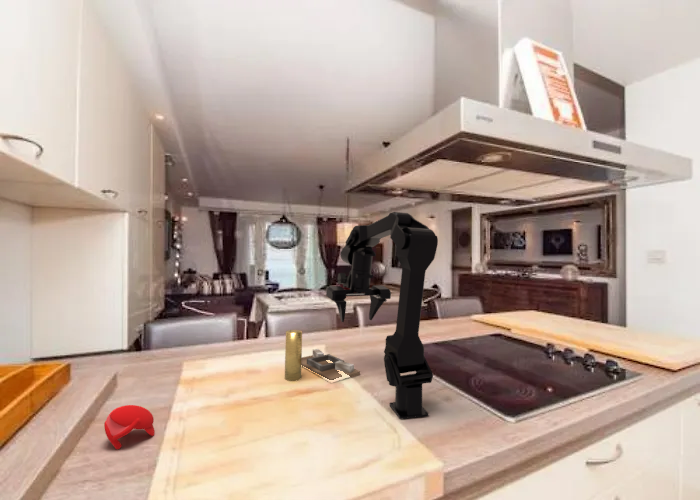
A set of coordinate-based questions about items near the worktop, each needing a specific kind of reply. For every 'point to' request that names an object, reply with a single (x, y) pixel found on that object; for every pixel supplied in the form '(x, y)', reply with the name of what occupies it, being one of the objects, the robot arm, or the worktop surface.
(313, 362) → the shaft rig
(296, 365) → the olive gold cylinder
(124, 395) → the worktop surface
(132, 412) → the red curved piece
